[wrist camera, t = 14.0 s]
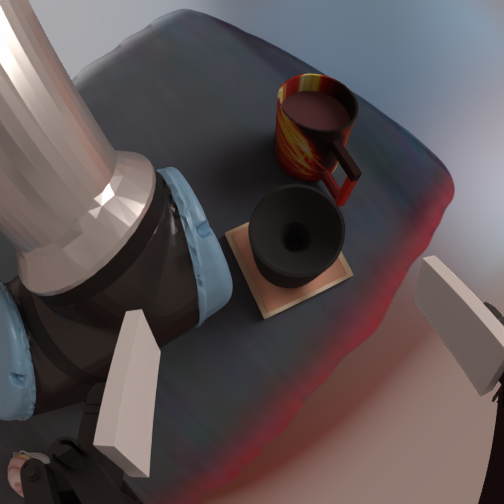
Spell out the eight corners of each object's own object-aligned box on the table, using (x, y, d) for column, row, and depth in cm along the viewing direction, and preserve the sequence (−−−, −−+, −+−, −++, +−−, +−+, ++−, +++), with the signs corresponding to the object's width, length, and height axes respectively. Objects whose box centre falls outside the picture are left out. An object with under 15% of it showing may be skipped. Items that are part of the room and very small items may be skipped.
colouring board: (264, 319, 39) (264, 318, 37) (225, 235, 41) (224, 232, 40) (351, 276, 40) (353, 274, 38) (309, 199, 43) (310, 194, 41)
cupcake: (66, 502, 31) (35, 524, 21) (25, 472, 32) (-9, 487, 22) (73, 464, 33) (36, 485, 23) (29, 433, 34) (-10, 445, 24)
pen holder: (338, 273, 38) (362, 253, 29) (269, 304, 38) (272, 294, 28) (305, 208, 41) (318, 171, 31) (239, 236, 40) (232, 204, 30)
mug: (338, 212, 42) (363, 169, 30) (260, 156, 45) (260, 102, 33) (372, 168, 44) (400, 120, 32) (299, 118, 46) (307, 64, 35)
